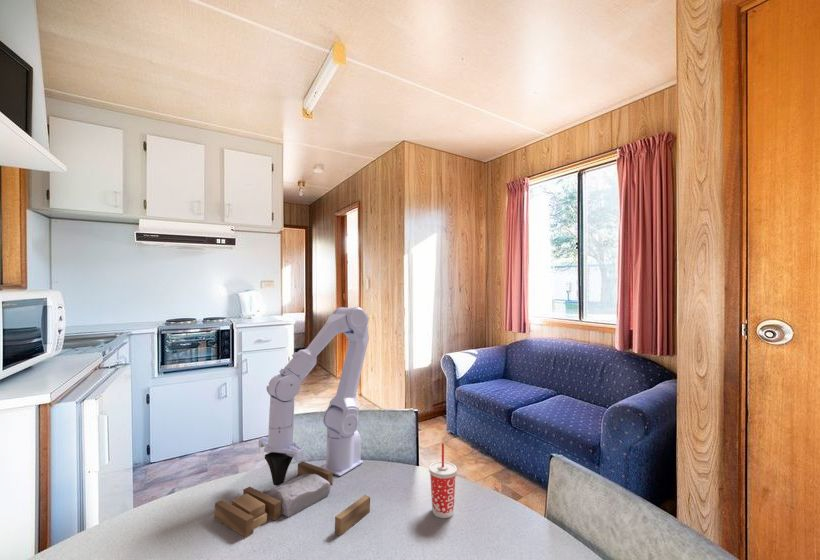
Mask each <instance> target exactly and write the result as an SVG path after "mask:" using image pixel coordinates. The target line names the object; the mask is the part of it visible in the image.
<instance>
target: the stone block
mask: <svg viewBox="0 0 820 560" xmlns="http://www.w3.org/2000/svg"><path fill="white" fill-rule="evenodd" d="M331 486H332V485H331ZM331 486H330V483H329V482H328V481H327V480H325V479H324V478H322V477H320V476H318V475H316V474H305V475H301V476H297V477H294V478H291V479H290V480H289V481H288V482H286V483H285V484H281V485H278V486H275V487H273V488H271V489H269V490H268V495H269V496H271V497H273V498H275V499H277V500H279V501H281V514H280V515H281V516H282V515H283V516H285V517H287V518H290V517H292V516H294V515H296V514H298V513H300V512H301V511H303V510H305V509H307V508H308V507H309V508H310V507H311V506H312V505H314V504H316V503H318V502H319V501H322V500H323V499H325V498H327V496H328V495H329V494H330V492H331V488H332V487H331Z"/></svg>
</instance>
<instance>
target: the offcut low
mask: <svg viewBox="0 0 820 560" xmlns="http://www.w3.org/2000/svg"><path fill="white" fill-rule="evenodd" d="M267 519H268V517H267V513H265V514H263V515H261V516H259V517H257V518H256V519H254V528H253V531H254V530H255V529H257V528H258V527H260V526H262V525H263V524H266V523H267V522H268V520H267Z"/></svg>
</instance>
